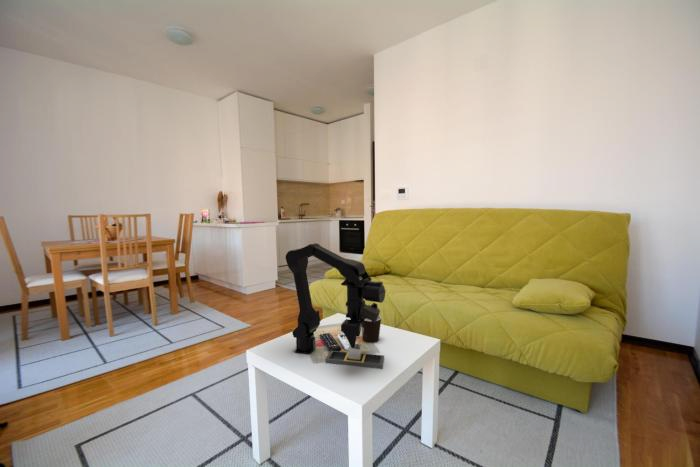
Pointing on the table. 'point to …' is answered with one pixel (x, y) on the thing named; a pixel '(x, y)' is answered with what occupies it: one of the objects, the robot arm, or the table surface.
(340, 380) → the table surface
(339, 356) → the rail
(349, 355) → the block
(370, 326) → the coffee mug
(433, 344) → the table surface
